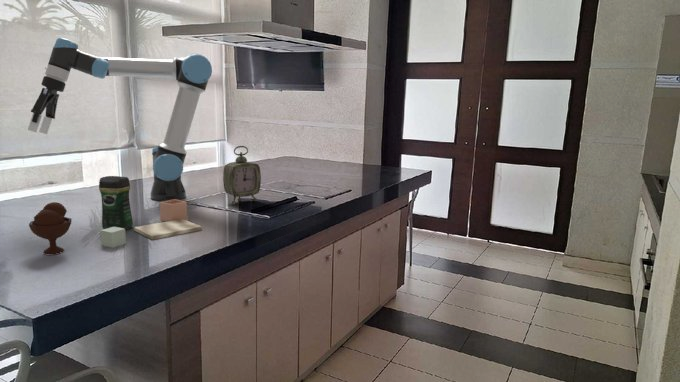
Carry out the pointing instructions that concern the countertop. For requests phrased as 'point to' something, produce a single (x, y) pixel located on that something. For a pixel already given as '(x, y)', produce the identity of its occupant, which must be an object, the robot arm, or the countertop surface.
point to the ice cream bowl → (51, 225)
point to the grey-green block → (113, 236)
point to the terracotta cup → (173, 210)
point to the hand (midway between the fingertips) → (37, 132)
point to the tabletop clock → (241, 177)
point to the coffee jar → (115, 202)
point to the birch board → (167, 228)
